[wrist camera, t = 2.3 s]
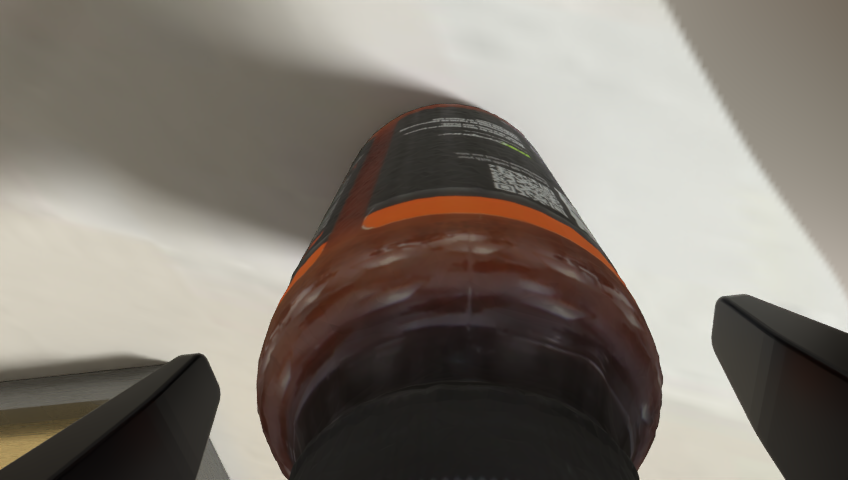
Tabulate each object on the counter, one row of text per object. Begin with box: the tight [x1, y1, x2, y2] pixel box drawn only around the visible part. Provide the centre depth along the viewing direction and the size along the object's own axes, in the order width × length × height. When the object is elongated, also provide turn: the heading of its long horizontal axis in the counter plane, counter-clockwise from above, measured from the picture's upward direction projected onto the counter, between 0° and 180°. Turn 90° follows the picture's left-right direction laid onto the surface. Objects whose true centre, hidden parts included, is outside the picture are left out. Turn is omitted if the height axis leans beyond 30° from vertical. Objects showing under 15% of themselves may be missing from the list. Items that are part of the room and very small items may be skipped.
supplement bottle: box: [257, 104, 663, 480], centre depth 10 cm, size 6×6×11 cm
